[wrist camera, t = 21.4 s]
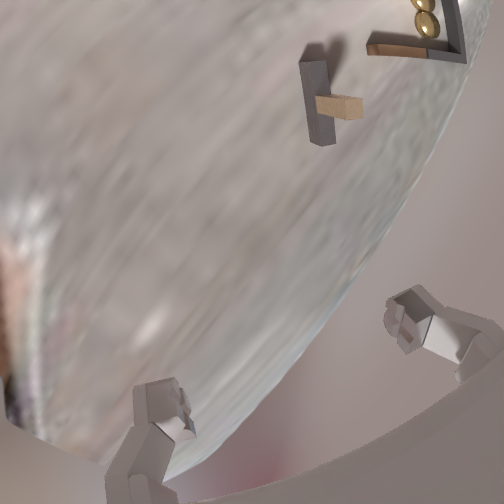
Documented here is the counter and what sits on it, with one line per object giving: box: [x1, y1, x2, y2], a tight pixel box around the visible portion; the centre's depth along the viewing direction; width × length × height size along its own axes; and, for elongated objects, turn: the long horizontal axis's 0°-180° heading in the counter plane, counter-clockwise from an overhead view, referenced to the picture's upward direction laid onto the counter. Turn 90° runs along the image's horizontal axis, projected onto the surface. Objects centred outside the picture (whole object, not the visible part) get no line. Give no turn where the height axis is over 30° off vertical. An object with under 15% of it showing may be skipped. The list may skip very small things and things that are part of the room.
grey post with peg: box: [299, 60, 364, 147], centre depth 29 cm, size 10×2×9 cm, turn 10°
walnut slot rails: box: [366, 44, 427, 58], centre depth 26 cm, size 15×9×2 cm, turn 10°
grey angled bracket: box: [424, 0, 467, 64], centre depth 27 cm, size 15×10×2 cm, turn 10°
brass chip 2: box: [415, 12, 440, 38], centre depth 29 cm, size 4×4×2 cm
